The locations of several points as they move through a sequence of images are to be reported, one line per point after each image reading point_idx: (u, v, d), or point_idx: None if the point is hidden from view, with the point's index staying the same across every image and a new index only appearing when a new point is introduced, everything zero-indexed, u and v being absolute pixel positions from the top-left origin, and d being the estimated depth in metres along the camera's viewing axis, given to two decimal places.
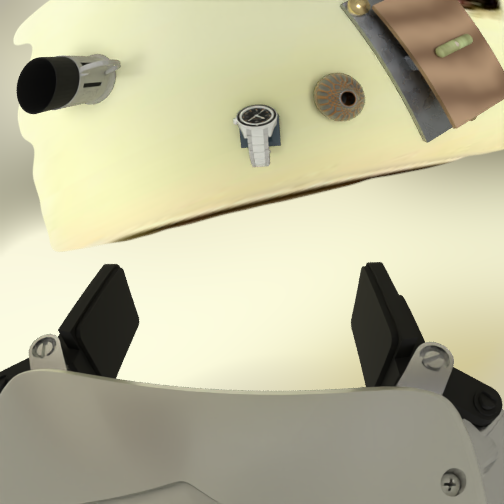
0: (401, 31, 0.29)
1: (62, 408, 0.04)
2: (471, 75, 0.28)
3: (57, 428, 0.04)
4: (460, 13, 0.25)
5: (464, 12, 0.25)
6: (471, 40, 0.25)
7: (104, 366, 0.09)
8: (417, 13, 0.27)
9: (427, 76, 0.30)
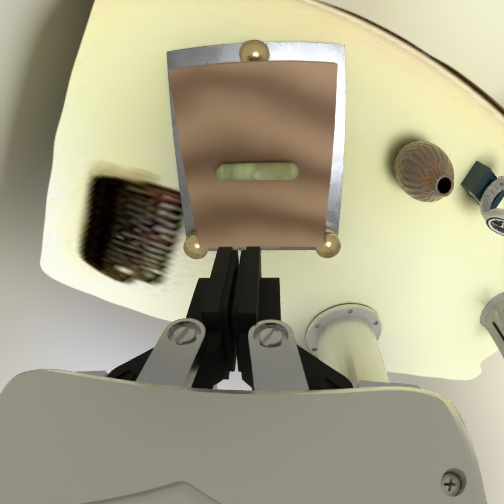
0: (319, 209, 0.31)
1: (62, 408, 0.04)
2: (253, 119, 0.25)
3: (57, 428, 0.04)
4: (203, 203, 0.31)
5: (194, 202, 0.31)
6: (222, 171, 0.27)
7: (232, 349, 0.10)
8: (276, 220, 0.32)
9: (332, 148, 0.26)
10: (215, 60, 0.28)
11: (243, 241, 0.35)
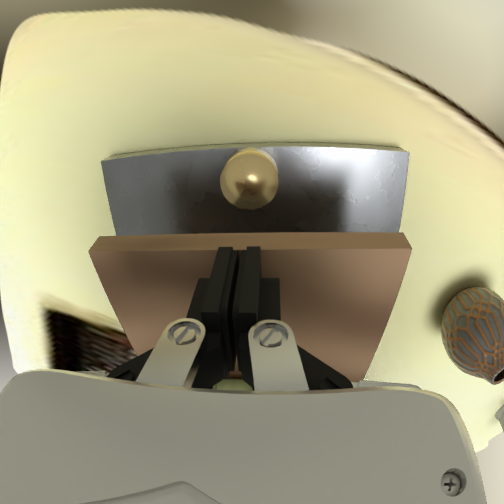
0: None
1: (62, 408, 0.04)
2: None
3: (57, 428, 0.04)
4: None
5: None
6: None
7: (232, 349, 0.10)
8: None
9: (370, 359, 0.16)
10: (181, 180, 0.18)
11: None
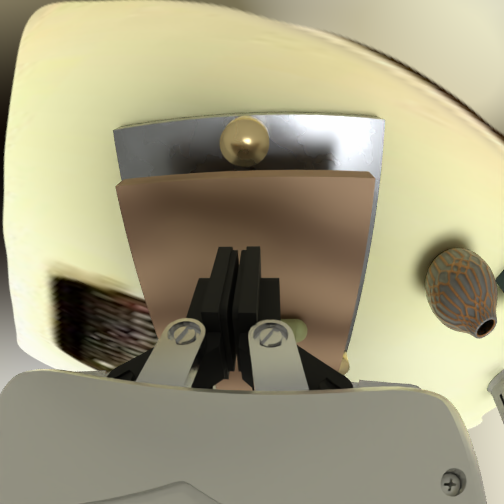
0: (330, 364, 0.23)
1: (62, 408, 0.04)
2: None
3: (57, 428, 0.04)
4: None
5: None
6: None
7: (232, 349, 0.10)
8: None
9: (355, 297, 0.19)
10: (185, 145, 0.20)
11: None
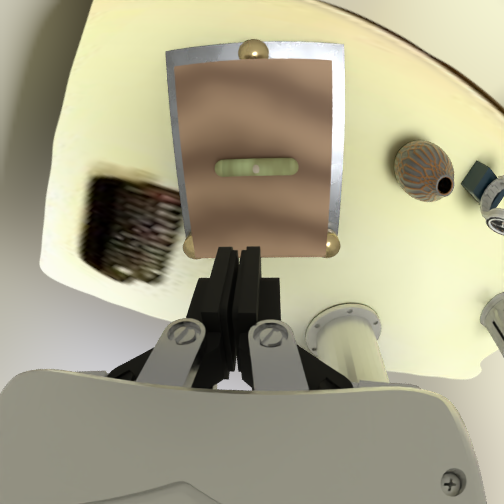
0: (320, 212, 0.30)
1: (62, 408, 0.04)
2: (253, 114, 0.26)
3: (57, 428, 0.04)
4: (201, 205, 0.30)
5: (191, 204, 0.30)
6: (221, 165, 0.27)
7: (232, 349, 0.10)
8: (275, 225, 0.31)
9: (331, 144, 0.27)
10: (214, 60, 0.28)
11: None
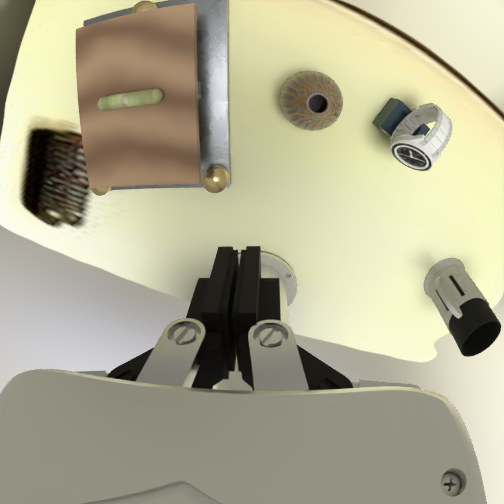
0: (188, 138, 0.30)
1: (62, 408, 0.04)
2: (128, 57, 0.25)
3: (57, 428, 0.04)
4: (91, 138, 0.30)
5: (85, 138, 0.30)
6: (100, 100, 0.27)
7: (232, 349, 0.10)
8: (150, 152, 0.31)
9: (193, 73, 0.26)
10: None
11: (124, 178, 0.33)
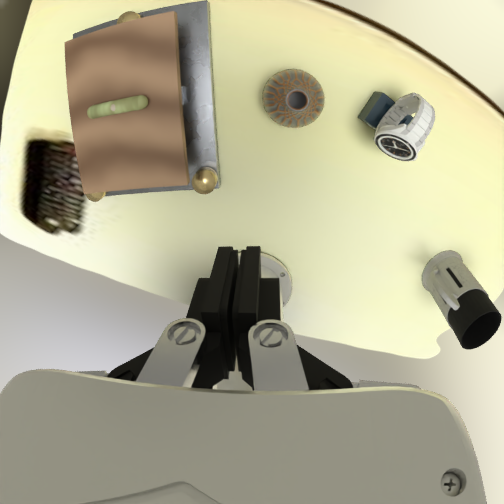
0: (174, 141, 0.31)
1: (62, 408, 0.04)
2: (114, 66, 0.27)
3: (57, 428, 0.04)
4: (83, 146, 0.31)
5: (77, 146, 0.31)
6: (90, 109, 0.28)
7: (232, 349, 0.10)
8: (139, 157, 0.32)
9: (176, 78, 0.27)
10: None
11: (116, 183, 0.34)
